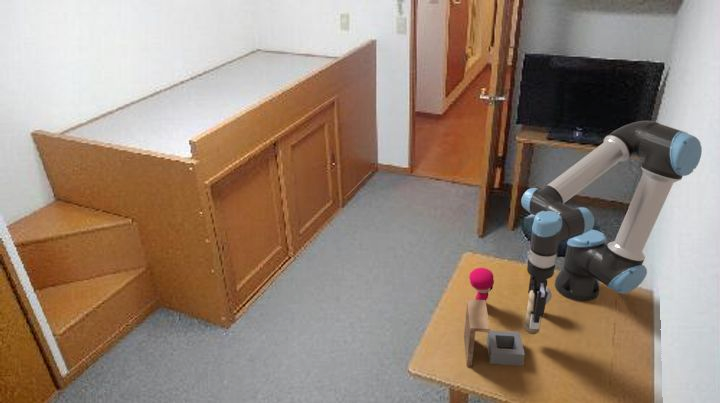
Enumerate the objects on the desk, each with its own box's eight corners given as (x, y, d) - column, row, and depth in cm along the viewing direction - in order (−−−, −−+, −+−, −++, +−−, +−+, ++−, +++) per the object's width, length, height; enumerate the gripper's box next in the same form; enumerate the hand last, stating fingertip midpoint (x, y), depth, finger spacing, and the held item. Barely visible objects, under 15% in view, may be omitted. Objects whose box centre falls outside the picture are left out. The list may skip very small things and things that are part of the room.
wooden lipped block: (481, 337, 176) (485, 300, 169) (485, 367, 165) (489, 329, 158) (464, 336, 177) (467, 299, 169) (466, 366, 166) (470, 327, 158)
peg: (537, 324, 173) (543, 289, 166) (540, 334, 169) (545, 298, 162) (523, 323, 173) (528, 289, 166) (525, 333, 169) (530, 298, 162)
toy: (493, 314, 186) (497, 278, 179) (468, 314, 186) (472, 279, 179) (488, 298, 193) (492, 263, 186) (464, 298, 194) (468, 264, 186)
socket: (518, 342, 174) (519, 332, 172) (522, 365, 165) (524, 354, 163) (486, 341, 175) (488, 330, 173) (489, 363, 166) (491, 352, 164)
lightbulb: (548, 320, 183) (553, 294, 177) (530, 317, 184) (534, 292, 179) (547, 308, 188) (551, 282, 183) (528, 306, 189) (533, 280, 184)
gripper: (523, 244, 166) (516, 303, 178) (533, 279, 151) (524, 342, 163) (549, 244, 165) (540, 304, 177) (561, 280, 150) (550, 343, 162)
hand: (532, 322), depth 170 cm, fingers closed on peg, 4 cm apart
